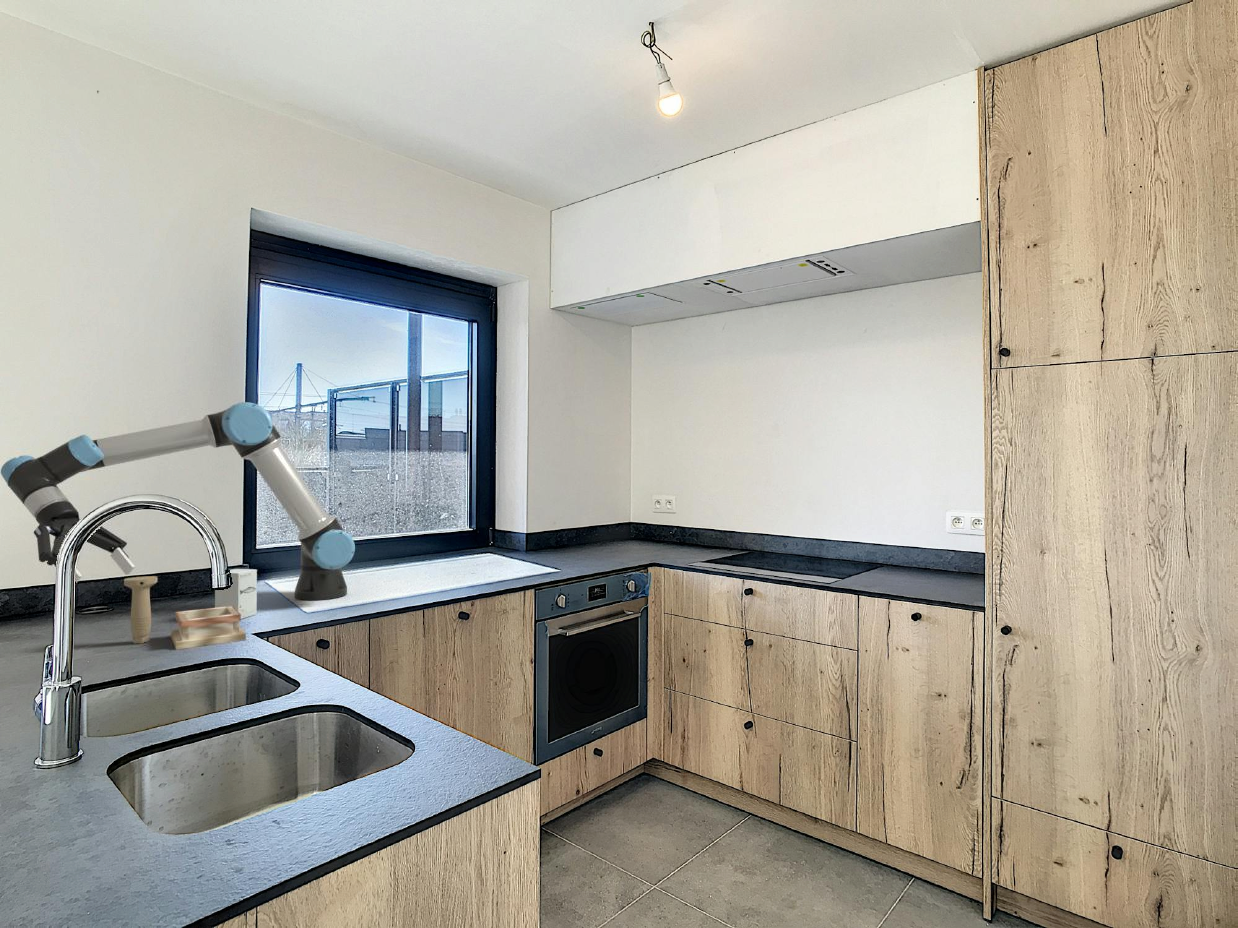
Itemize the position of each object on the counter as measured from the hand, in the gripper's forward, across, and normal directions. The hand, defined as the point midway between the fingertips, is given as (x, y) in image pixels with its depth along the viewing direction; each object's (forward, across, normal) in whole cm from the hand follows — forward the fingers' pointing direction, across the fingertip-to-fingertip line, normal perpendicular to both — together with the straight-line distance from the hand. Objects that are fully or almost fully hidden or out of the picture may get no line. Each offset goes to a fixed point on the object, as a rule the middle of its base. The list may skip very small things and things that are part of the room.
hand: (105, 575), depth 163 cm
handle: (+18, 0, -4) cm, 18 cm away
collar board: (+26, -7, +5) cm, 28 cm away
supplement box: (+20, -28, -2) cm, 34 cm away
